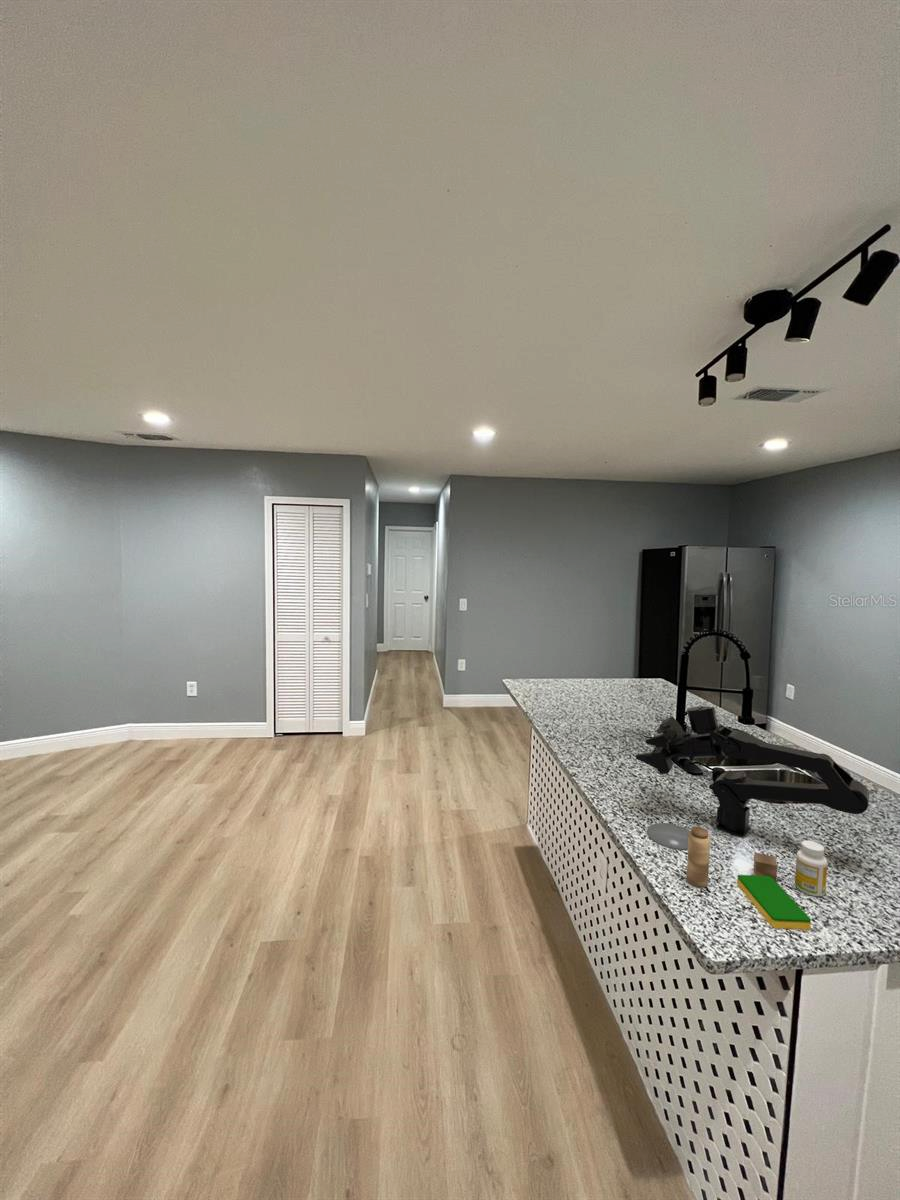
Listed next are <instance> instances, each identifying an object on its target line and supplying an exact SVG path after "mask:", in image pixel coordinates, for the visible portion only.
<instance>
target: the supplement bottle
mask: <svg viewBox="0 0 900 1200" xmlns="http://www.w3.org/2000/svg"><path fill="white" fill-rule="evenodd" d="M800 845H801V846H800V848H801V849H800V850H798V851H797V852H796V861H795V862H796V863H795V876H794V885H795V887H796V888H797V889H798V890H799V891H800V892H802V893H804V894H806V895H810V896H813V897H822V896H825V895H826V891H827V890H826V888H827V877H828V873H827V872H828V859H827V858H826V857H825V847H824V846H823V845H822V844H820V843H819V842H816V841H813V840H802V842H801V844H800Z"/></svg>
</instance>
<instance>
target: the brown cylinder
mask: <svg viewBox="0 0 900 1200" xmlns="http://www.w3.org/2000/svg"><path fill="white" fill-rule="evenodd" d="M711 837H712V836H711V835H710V834H709V831H708V830H707V829H706V828H704V827H702V826H693V827H691V830H690V831H689V840H688V850H687V863H686V864H687V865H686V882H687V883H688V884H690V885H691V886H693V887H695V888H707V887H708V885H709V872H710V869H709V868H710V856H711V855H710V851H711V839H712V838H711Z"/></svg>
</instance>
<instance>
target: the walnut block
mask: <svg viewBox="0 0 900 1200" xmlns="http://www.w3.org/2000/svg"><path fill="white" fill-rule="evenodd" d="M777 863H778V862H777V857H776V856H774V855H769V854H764V853H761V852H757V851H756V852H754V857H753V873H754V876H770V877H772V878H773V879H774V880H775V881H776V882H777V877H778V864H777Z"/></svg>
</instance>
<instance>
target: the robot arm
mask: <svg viewBox="0 0 900 1200" xmlns="http://www.w3.org/2000/svg"><path fill="white" fill-rule="evenodd" d="M686 713H687V718H688V722H689V725H690V729H691V731H692V732H693V733H694V734H697V735H693V733H692V732H687V731H685V730H684V729H683V726H682V725H681V724H680V723H679V722H678V720H676V718H675V717H674V716H669V717H667V718H665V719H663V720H662V721H661V723H660V724H659V726H658V727H659V730H660V731H661V732H662V733H660V734H658V735H656V736H652V737H649V738H647V739H646V740H644V741H645V744H647V745H649V746H655V747H654V748H653V750H652V751H650V752H644V753H639V754H635V756H634V757H635V760H637V761H640V762H642V763H644V764H646V765H648V766H650V767H652V768H654V769H656V770H657V772H658V773H659V775H668V774H669V773H670V772H671V770H672V768H673V766H674V763H673V760H674V762H679V761H680V760H681V759H689V762H695V759H697V758H699V759H700V758H715V761H716V765H718V766H720V765H722V764H723V762H724V761H725V760H726V759H727V758H729V759H733V760H741V761H742V760H745V761H751V760H752V761H753V760H761V761H766V762H770V763H775V764H779V765H783V766H788V767H791V768H796V769H800V770H805V771H809V772H813V773H816V774H817V775H818V776H819V777H820V778H821V780H822V781H823V783H806V782H805V783H804V782H791V781H790V782H789V781H775V780H762V779H761V780H760V779H759V780H758V779H753V778H750V777H748V776H746V775H747V773H746V771H744V770H743V771H742V770H740V771H735V770H731V769H729V770H728V771H726V772H724V773H721V774H720V775H719V776H718V778H717V779H716V780H715V781H714V782H713V784H712V789H711V790H712V793H713V795H714V796H715V797H716V798H717V800H718V804H719V806H718V807H717V812H716V825H715V827H716V828H717V829H719V830H722V831H725V832H727V833H730V834H733V835H736V836H738V837H745V836H746V835H747V834H748V832H749V831H750V830H751V829H752V828H751V826H750V812H751V809H750V807H749V806H747V804H748V803H749V802H750V800H752V799H754V800H755V799H759V800H769V801H781V802H791V803H803V804H816V805H822V806H824V807H827V808H830V809H832V810H834V811H838V812H842V813H846V814H851V815H861V814H863V813H864V812H865V811H867V810H868V808H869V802H870V790H869V789H868V787H867V786H866V785H865V784H864V783H862V782H861V781H859V780H857V779H854V777H852V775H850V773H848V772H847V771H846V770H845V769H844V768H842V767H841V766H840V765H839V764H838V763H837V762H836V761H835V760H834V759H833V758H832V756H830V755H828V754H826V753H824V752H823V753H822V752H821V753H818V752H813V751H808V750H803V749H798V748H795V747H788V746H784V745H780V744H775V743H770V742H766V741H763V740H760V739H758V738H756V737H755V736H753V735H750V734H748V733H745V732H741V731H738V730H736V731H735V730H732V729H730V728H729V727H726V726H724V725H723V724H719V722H718V720H717V715H716V708H715V706H704V705H699V706H692V707H688V708H686ZM672 758H673V760H672Z"/></svg>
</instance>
